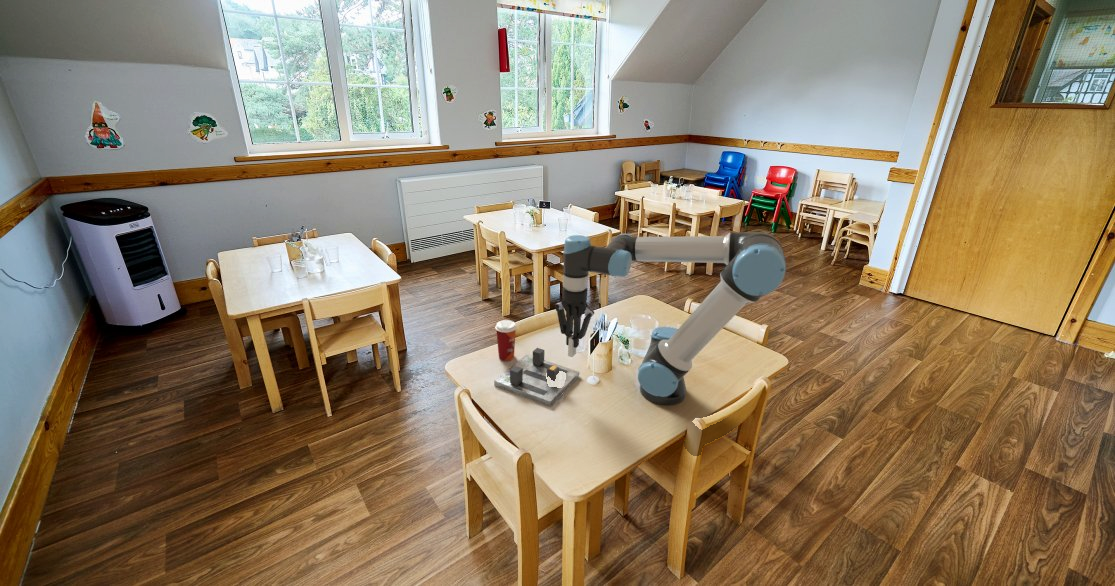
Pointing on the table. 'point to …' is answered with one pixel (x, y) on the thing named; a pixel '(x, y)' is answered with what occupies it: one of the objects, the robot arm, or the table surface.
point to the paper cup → (506, 339)
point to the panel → (536, 381)
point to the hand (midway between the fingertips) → (572, 354)
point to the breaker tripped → (552, 372)
